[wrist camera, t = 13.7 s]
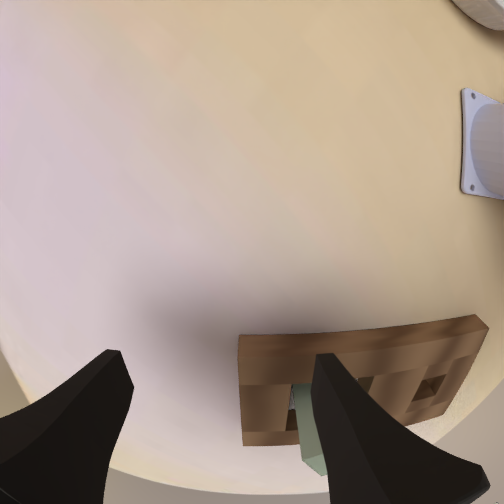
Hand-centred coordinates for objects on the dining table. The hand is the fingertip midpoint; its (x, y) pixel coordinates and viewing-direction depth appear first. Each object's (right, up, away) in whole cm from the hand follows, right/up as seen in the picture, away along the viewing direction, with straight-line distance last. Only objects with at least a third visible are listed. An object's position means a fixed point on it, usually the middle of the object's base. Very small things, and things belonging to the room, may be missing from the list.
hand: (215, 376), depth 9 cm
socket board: (+11, -7, +13) cm, 18 cm away
